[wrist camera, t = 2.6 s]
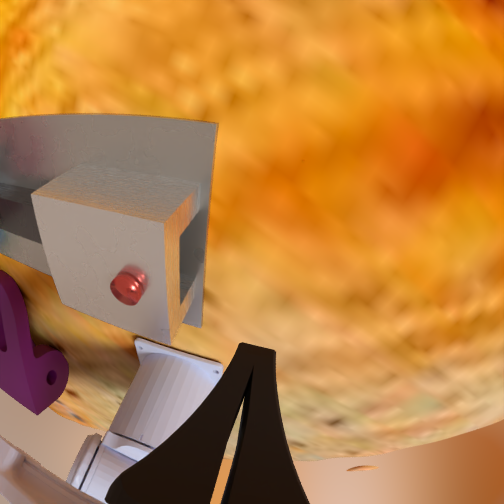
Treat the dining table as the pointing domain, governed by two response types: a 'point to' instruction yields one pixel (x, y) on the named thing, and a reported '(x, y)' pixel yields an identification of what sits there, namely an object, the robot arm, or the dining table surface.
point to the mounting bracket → (26, 355)
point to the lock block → (119, 246)
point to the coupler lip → (109, 156)
